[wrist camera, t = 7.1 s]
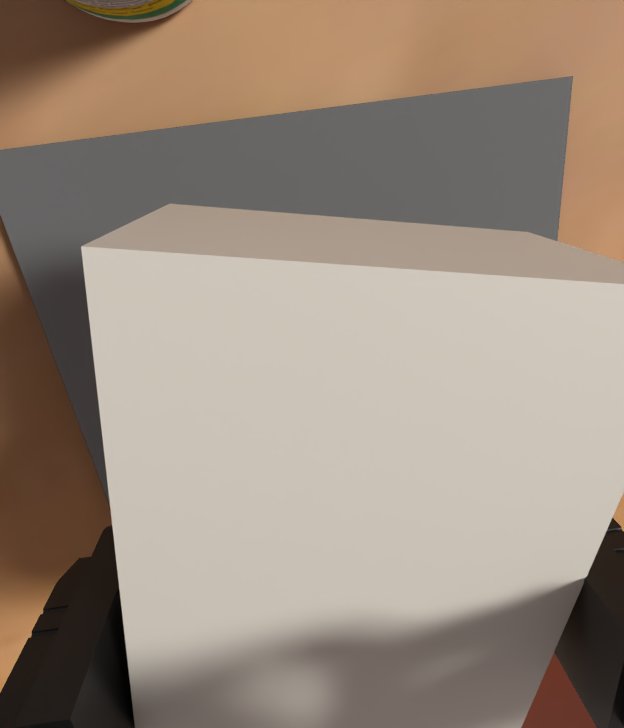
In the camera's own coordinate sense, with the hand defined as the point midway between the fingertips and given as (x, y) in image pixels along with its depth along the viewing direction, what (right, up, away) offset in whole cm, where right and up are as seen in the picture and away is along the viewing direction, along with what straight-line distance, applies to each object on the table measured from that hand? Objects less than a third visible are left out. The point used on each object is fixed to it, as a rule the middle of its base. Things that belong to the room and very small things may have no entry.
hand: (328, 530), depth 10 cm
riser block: (0, 0, +1) cm, 1 cm away
